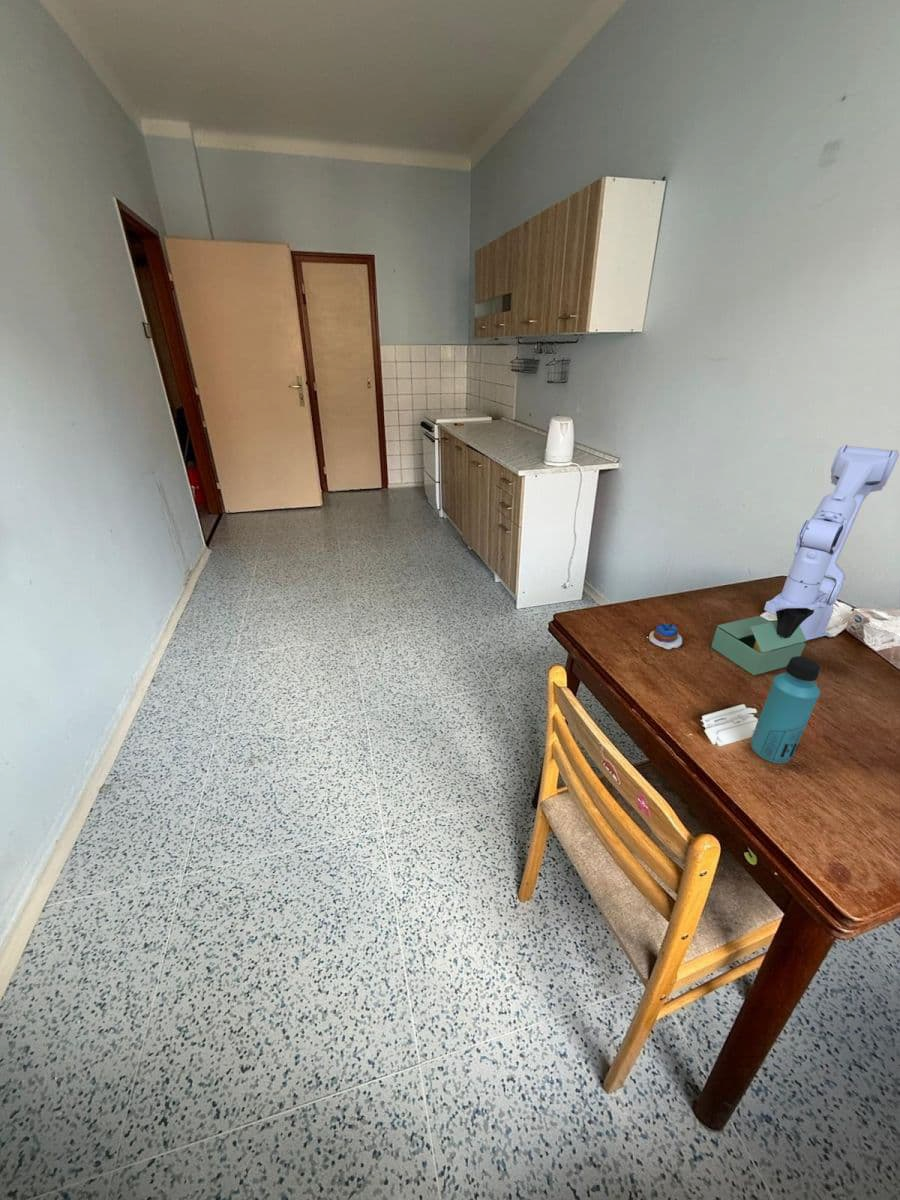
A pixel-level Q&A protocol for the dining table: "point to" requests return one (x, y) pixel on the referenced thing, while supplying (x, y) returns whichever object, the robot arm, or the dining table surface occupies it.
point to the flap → (774, 637)
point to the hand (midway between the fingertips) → (783, 635)
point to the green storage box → (751, 647)
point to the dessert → (666, 636)
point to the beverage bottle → (786, 711)
